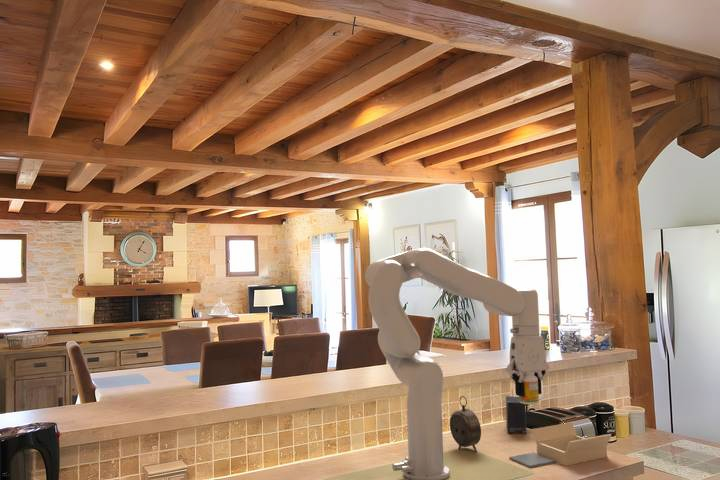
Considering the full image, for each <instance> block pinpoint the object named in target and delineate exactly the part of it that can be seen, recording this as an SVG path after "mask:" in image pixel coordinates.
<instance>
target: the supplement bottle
mask: <svg viewBox="0 0 720 480" xmlns="http://www.w3.org/2000/svg"><path fill="white" fill-rule="evenodd" d="M534 374H535V372H525V373H524V375H523V380H522V382H524V392H525V396H524V397H521V396H518V397H519V401H520V403H522V404H525V405H537V404H539V402H540V401H539V397H540V396H539V394H538V378H537V377H536V376H534Z"/></svg>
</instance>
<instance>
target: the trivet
mask: <svg viewBox="0 0 720 480" xmlns="http://www.w3.org/2000/svg"><path fill="white" fill-rule="evenodd" d="M508 460H511V461H512V462H515V463H516V464H517V463H518V464H520V465H522V466H525V467H526V468H529V469H531V468H536V467H541V466H546V465H551V464H555V463H556V462H555V460H552V459H550V458H547V457H544V456H542V455H539V454H537V452H533V451H532V452H529V453H522V454H518V455H513V456H512V455H511V456H509V458H508Z"/></svg>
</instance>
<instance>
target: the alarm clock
mask: <svg viewBox="0 0 720 480" xmlns="http://www.w3.org/2000/svg"><path fill="white" fill-rule="evenodd" d="M462 398H464V400H465V405H464V404H462V402H461V401H462V400H461V399H462ZM459 403H460V406H461V407H462V409H459V410H456V411H453V412H452V414H451V415H450V419H449V430H450V433H451V436H452V438H453V440H454V442H456V444H457V445H458V449H457V450H458V451H460V450H461V447H462V448H463V447H464V448H467V447H471V446H472V448H473V450H474V452H475V453H478V450H477V448H476V445H478V444H479V442H480V440H481V438H482V437H481V436H482V427H481V424H480V420H479V418H478V416H477V414H475V412H474V411H473V410H471V409H469V408H466V406H467V404H468V401H467V398H466V397H465V395H462V396H460V397H459Z"/></svg>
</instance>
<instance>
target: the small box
mask: <svg viewBox="0 0 720 480" xmlns="http://www.w3.org/2000/svg"><path fill="white" fill-rule="evenodd" d="M505 408H506V409H505V413H506V414H505V417H506V418H505V419H506V432H507V434H523V435H525V434H527V413H526V412H527V411H526V408H527V407H526V404H522V403H520V401H519V396H513V395H512V396H510V395H508V396H505Z"/></svg>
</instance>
